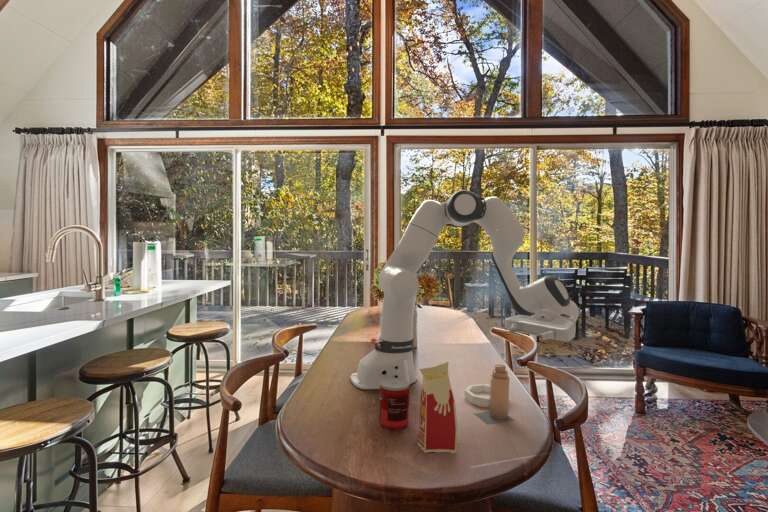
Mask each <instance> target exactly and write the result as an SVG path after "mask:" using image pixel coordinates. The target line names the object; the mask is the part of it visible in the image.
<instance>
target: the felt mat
mask: <svg viewBox="0 0 768 512" xmlns="http://www.w3.org/2000/svg"><path fill="white" fill-rule="evenodd" d="M489 412H490V410H489V411H482V412H476V413H475V412H474V413H473V414H474V415H475V416H476V417H477V418H479V419H480V420H481V421H482V422H484V423H485V424H486V425H492V424H498V423H499V424H500V423H505V422H507V423H509V422H513V421H516V419H514V418H512V416H509V415H508V419H506V420H496V419H493V418H491V417H490V416H489Z"/></svg>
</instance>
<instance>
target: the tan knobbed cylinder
mask: <svg viewBox="0 0 768 512" xmlns="http://www.w3.org/2000/svg"><path fill="white" fill-rule="evenodd" d="M508 374H509V372H508V371H507V366H506V365H505V364H494V369H493V370H492V374H491V375H490V382H489V385H490V407H489V411H490V412H489V416H490V417H491V418H493V419H496V420H506V419H508V416H509V404H510V400H509V399H510V376H509V375H508Z"/></svg>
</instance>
